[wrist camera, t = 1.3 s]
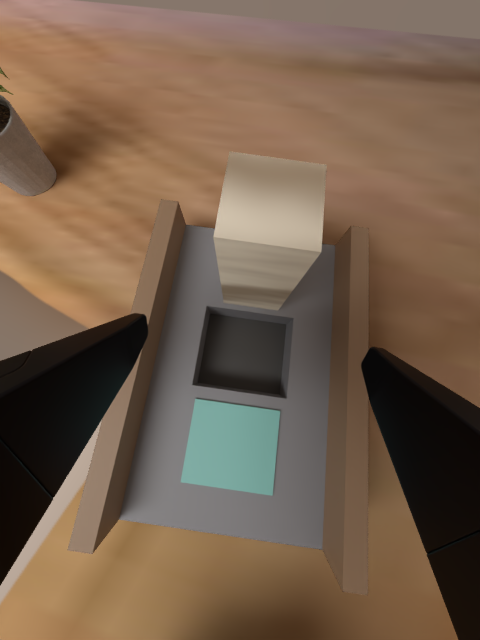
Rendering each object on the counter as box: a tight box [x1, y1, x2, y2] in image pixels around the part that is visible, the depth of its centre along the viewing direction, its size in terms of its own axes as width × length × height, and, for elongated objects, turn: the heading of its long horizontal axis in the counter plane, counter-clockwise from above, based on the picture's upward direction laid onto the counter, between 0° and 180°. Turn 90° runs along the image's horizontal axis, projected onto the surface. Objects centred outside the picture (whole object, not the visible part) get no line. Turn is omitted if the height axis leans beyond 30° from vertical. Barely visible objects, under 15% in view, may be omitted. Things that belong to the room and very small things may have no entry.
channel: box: [68, 199, 369, 595], centre depth 18 cm, size 25×18×6 cm
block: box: [213, 152, 326, 311], centre depth 15 cm, size 5×5×10 cm
